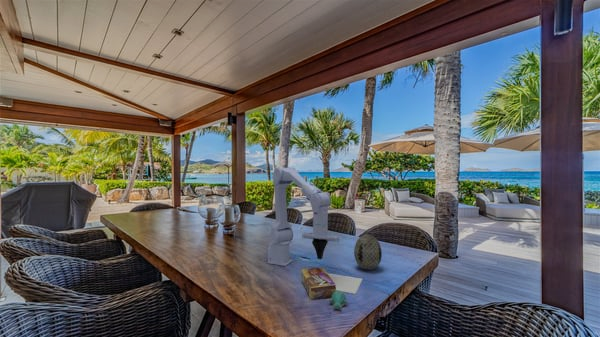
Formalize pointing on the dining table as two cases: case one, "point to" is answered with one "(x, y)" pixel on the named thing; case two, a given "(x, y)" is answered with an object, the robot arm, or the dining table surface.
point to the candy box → (318, 283)
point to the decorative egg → (367, 252)
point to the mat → (346, 283)
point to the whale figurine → (338, 300)
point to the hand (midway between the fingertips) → (320, 258)
